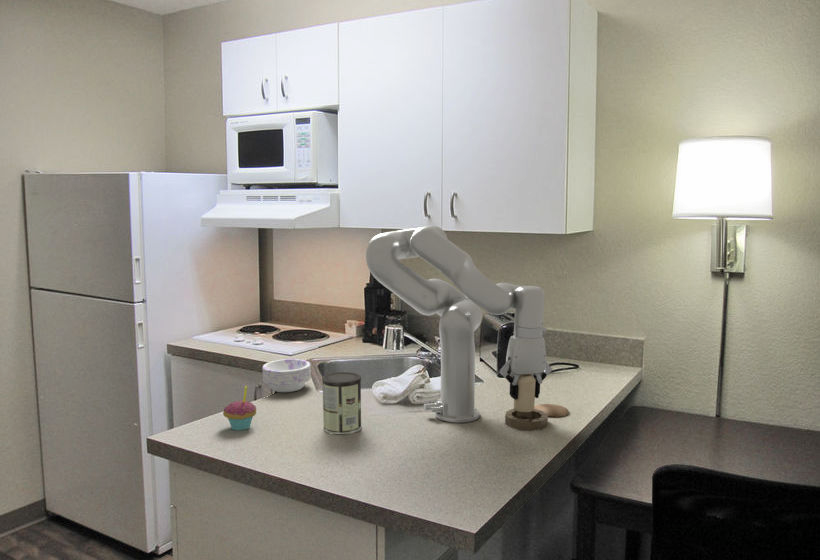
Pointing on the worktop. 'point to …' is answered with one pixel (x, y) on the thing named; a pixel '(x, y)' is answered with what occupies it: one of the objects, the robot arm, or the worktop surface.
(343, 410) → the coffee can
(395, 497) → the worktop surface
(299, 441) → the worktop surface
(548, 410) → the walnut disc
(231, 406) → the cupcake
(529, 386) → the candle
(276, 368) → the paper bowls
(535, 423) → the ring
